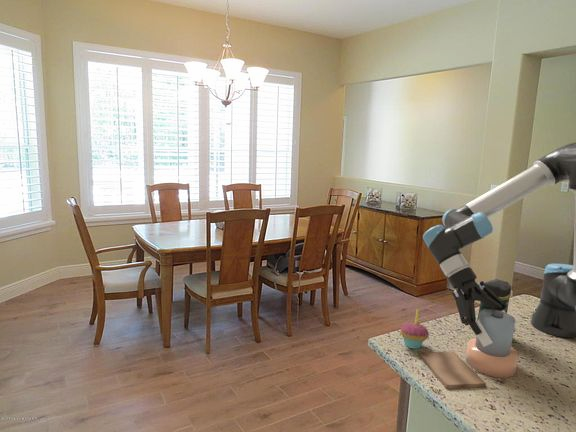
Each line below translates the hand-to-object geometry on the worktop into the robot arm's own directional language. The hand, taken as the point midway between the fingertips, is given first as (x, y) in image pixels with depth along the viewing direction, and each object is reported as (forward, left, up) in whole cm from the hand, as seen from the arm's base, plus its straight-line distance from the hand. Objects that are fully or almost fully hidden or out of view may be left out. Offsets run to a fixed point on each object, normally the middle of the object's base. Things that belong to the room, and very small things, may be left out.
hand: (501, 338), depth 112 cm
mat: (+14, 0, -9) cm, 17 cm away
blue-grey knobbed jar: (+1, -2, -4) cm, 5 cm away
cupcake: (+19, -14, -9) cm, 25 cm away
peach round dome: (+1, -2, -9) cm, 9 cm away
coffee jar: (-11, -20, -9) cm, 25 cm away
